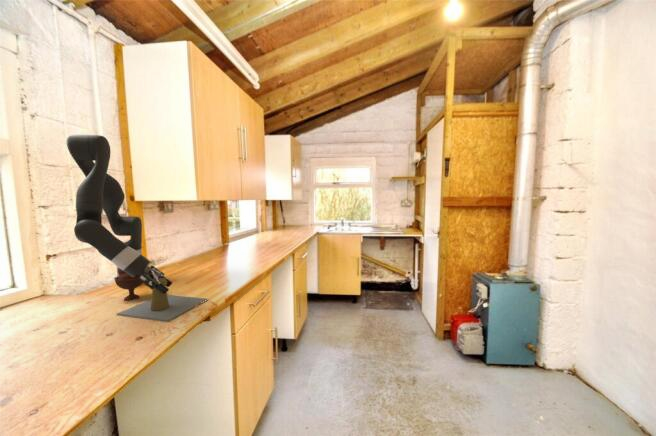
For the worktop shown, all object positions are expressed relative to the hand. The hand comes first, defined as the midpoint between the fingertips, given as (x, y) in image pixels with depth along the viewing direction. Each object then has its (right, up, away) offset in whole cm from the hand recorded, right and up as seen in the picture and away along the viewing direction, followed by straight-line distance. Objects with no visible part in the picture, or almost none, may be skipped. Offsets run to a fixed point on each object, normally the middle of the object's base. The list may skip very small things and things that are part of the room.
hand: (168, 288), depth 101 cm
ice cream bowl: (-21, -7, +9) cm, 24 cm away
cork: (-2, -7, -2) cm, 8 cm away
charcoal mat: (-1, -7, 0) cm, 7 cm away
